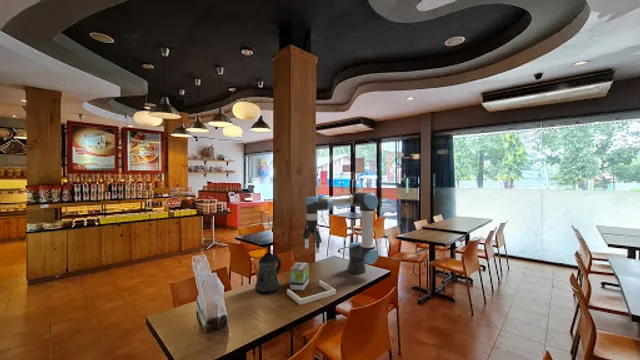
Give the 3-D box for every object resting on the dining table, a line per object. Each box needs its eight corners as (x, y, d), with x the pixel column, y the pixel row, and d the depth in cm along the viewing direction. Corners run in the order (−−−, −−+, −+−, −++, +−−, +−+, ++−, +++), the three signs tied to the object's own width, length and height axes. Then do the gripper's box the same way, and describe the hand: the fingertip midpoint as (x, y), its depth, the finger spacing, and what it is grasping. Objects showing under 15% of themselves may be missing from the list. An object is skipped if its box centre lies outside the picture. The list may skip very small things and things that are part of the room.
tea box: (303, 290, 185) (303, 269, 185) (289, 289, 187) (289, 268, 187) (309, 282, 200) (308, 262, 199) (296, 281, 202) (295, 261, 201)
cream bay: (320, 284, 195) (320, 280, 195) (336, 294, 179) (335, 289, 179) (286, 293, 180) (286, 289, 180) (300, 305, 165) (300, 300, 165)
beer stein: (250, 293, 181) (249, 256, 180) (264, 282, 199) (263, 249, 199) (273, 296, 176) (272, 258, 176) (284, 284, 195) (284, 250, 194)
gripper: (298, 217, 193) (298, 247, 193) (317, 222, 172) (317, 255, 172) (307, 216, 197) (307, 245, 197) (326, 221, 176) (326, 253, 177)
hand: (311, 250), depth 185 cm, fingers open, 13 cm apart
